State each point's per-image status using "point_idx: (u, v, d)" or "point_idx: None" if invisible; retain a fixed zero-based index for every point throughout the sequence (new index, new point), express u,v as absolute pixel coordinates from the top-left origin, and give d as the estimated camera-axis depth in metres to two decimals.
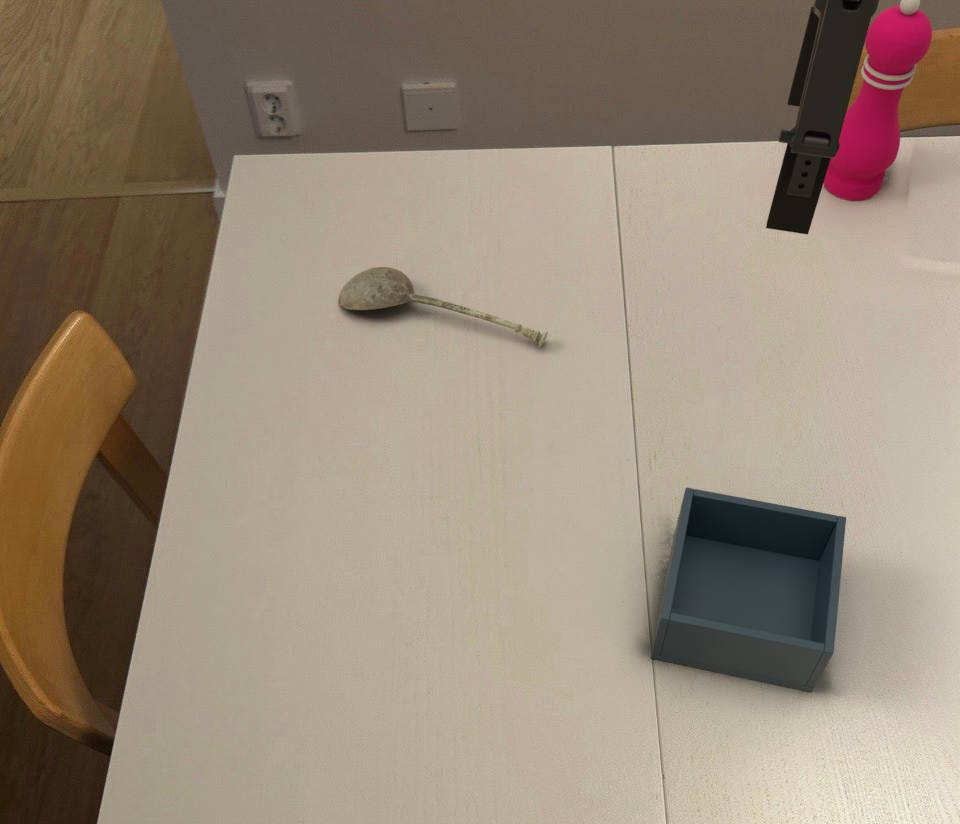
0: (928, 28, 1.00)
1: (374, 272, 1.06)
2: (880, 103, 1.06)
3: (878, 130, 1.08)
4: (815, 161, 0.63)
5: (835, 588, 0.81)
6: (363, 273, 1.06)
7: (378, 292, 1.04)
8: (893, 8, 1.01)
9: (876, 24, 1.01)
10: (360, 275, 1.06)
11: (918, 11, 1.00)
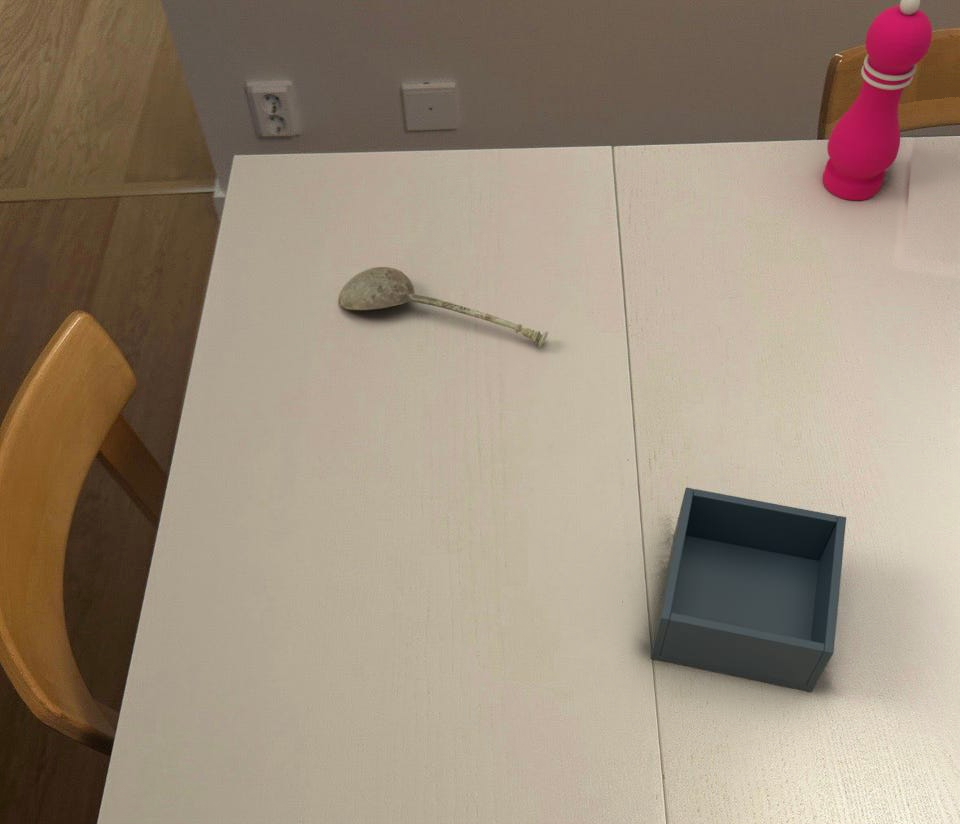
0: (928, 28, 1.00)
1: (374, 272, 1.06)
2: (880, 103, 1.06)
3: (878, 130, 1.08)
4: None
5: (835, 588, 0.81)
6: (363, 273, 1.06)
7: (378, 292, 1.04)
8: (893, 8, 1.01)
9: (876, 24, 1.01)
10: (360, 275, 1.06)
11: (918, 11, 1.00)
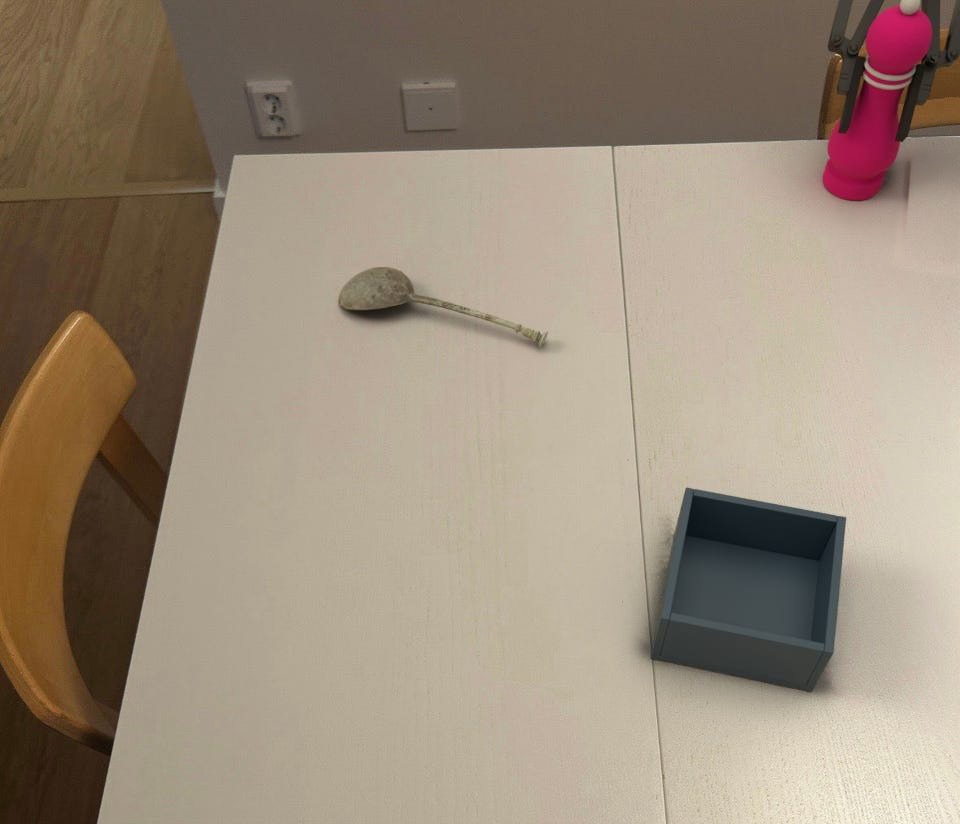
0: (928, 28, 1.00)
1: (374, 272, 1.06)
2: (880, 103, 1.06)
3: (878, 130, 1.08)
4: (843, 63, 1.05)
5: (835, 588, 0.81)
6: (363, 273, 1.06)
7: (378, 292, 1.04)
8: (893, 8, 1.01)
9: (877, 24, 1.01)
10: (360, 275, 1.06)
11: (918, 11, 1.00)
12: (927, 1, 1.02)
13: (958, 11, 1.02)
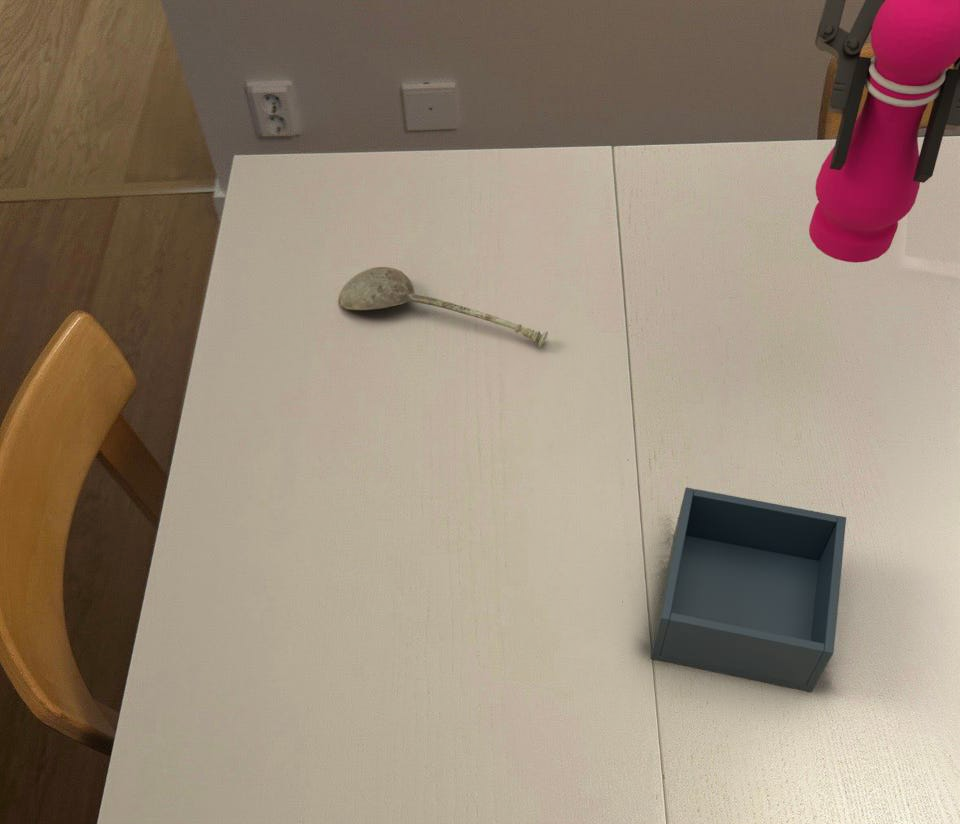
0: None
1: (374, 272, 1.06)
2: (892, 127, 0.72)
3: (889, 165, 0.73)
4: (838, 66, 0.71)
5: (835, 588, 0.81)
6: (363, 273, 1.06)
7: (378, 292, 1.04)
8: None
9: (888, 8, 0.67)
10: (360, 275, 1.06)
11: None
12: None
13: None
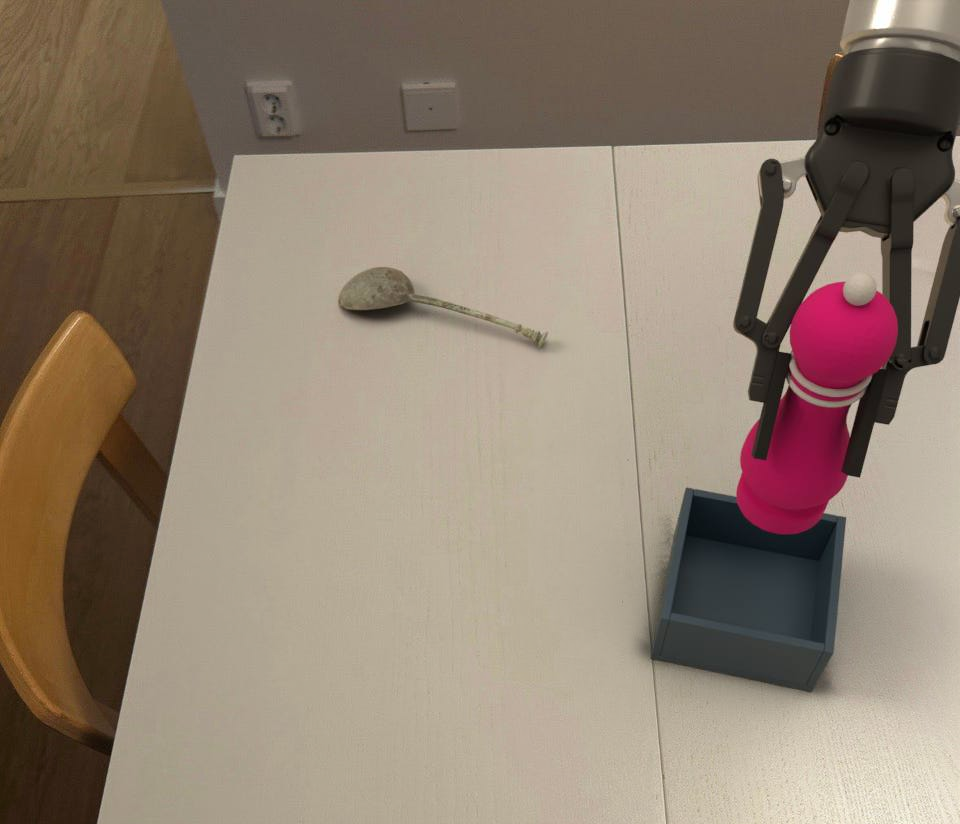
0: (891, 326, 0.60)
1: (374, 272, 1.06)
2: (816, 421, 0.66)
3: (815, 454, 0.68)
4: (756, 357, 0.65)
5: (835, 588, 0.81)
6: (363, 273, 1.06)
7: (378, 292, 1.04)
8: (833, 289, 0.60)
9: (806, 315, 0.61)
10: (360, 275, 1.06)
11: (874, 297, 0.60)
12: (890, 271, 0.62)
13: (941, 289, 0.62)
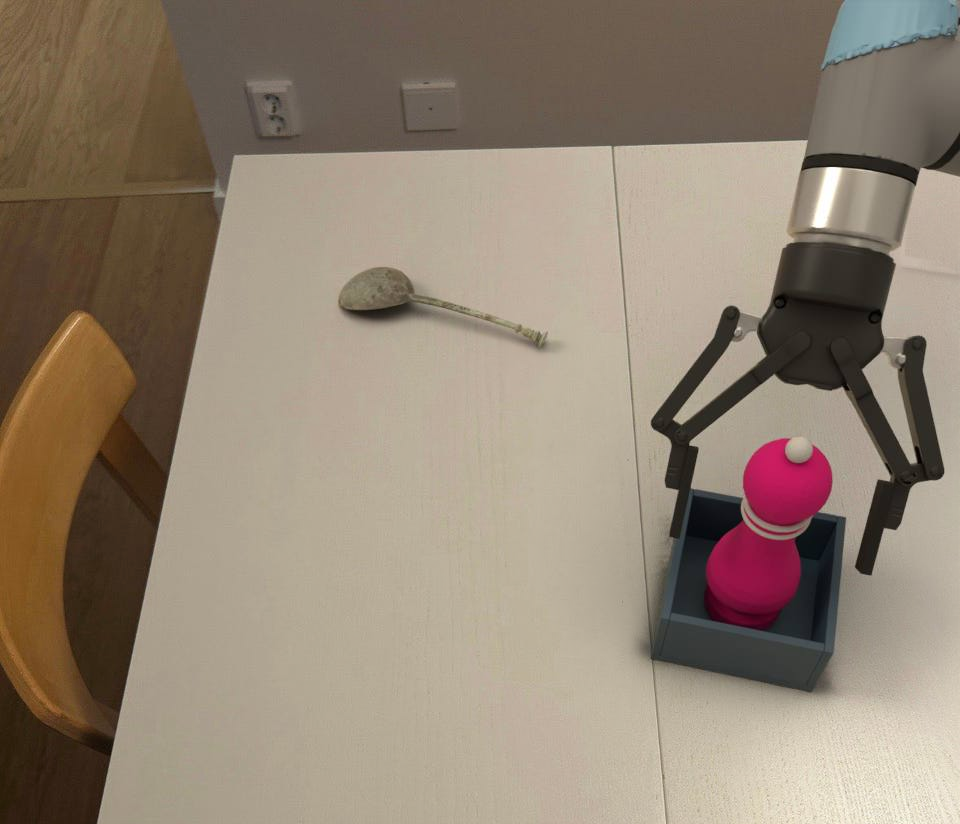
0: (825, 479, 0.72)
1: (374, 272, 1.06)
2: (767, 548, 0.77)
3: (768, 574, 0.79)
4: (670, 451, 0.76)
5: (835, 588, 0.81)
6: (363, 273, 1.06)
7: (378, 292, 1.04)
8: (778, 447, 0.72)
9: (755, 468, 0.72)
10: (360, 275, 1.06)
11: (812, 454, 0.72)
12: (864, 415, 0.73)
13: (916, 422, 0.72)
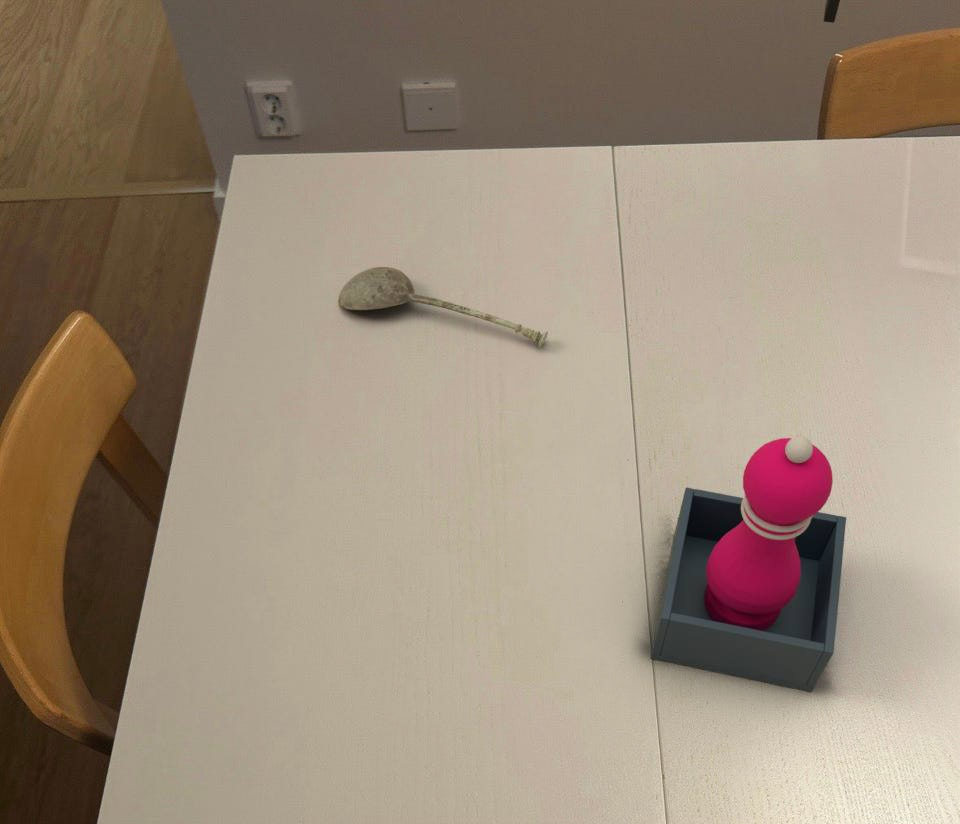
0: (825, 479, 0.72)
1: (374, 272, 1.06)
2: (767, 548, 0.77)
3: (768, 573, 0.79)
4: None
5: (835, 588, 0.81)
6: (363, 273, 1.06)
7: (378, 292, 1.04)
8: (778, 447, 0.72)
9: (755, 468, 0.72)
10: (360, 275, 1.06)
11: (812, 454, 0.72)
12: None
13: None
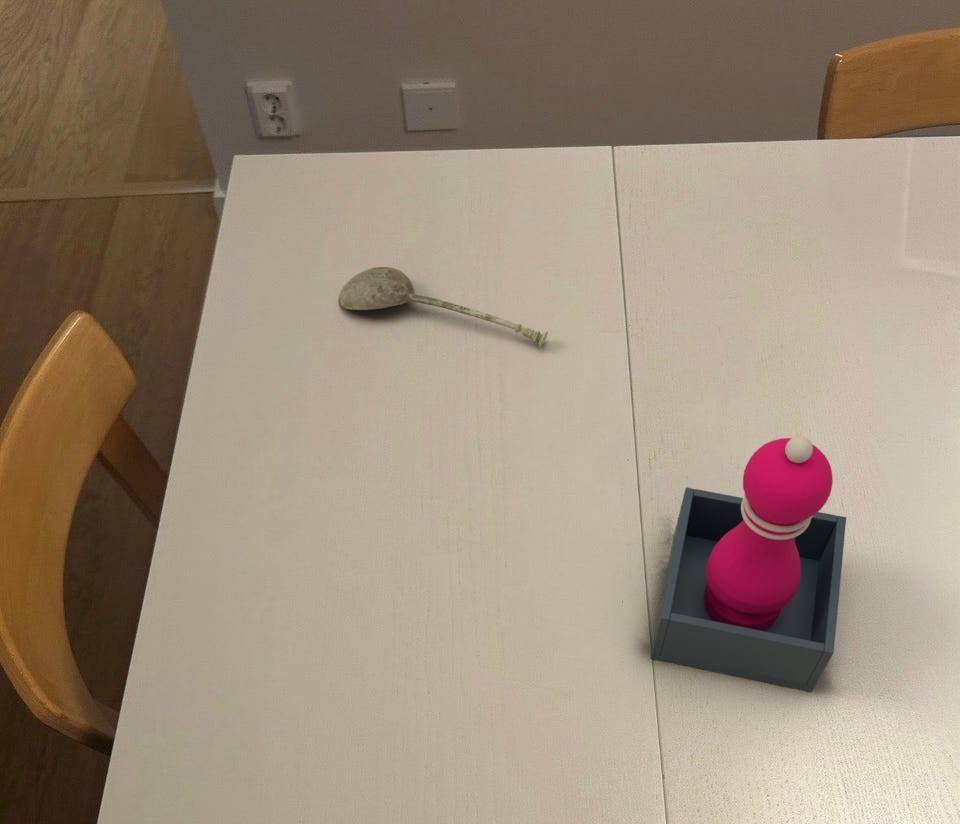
0: (825, 479, 0.72)
1: (374, 272, 1.06)
2: (767, 548, 0.77)
3: (768, 573, 0.79)
4: None
5: (835, 588, 0.81)
6: (363, 273, 1.06)
7: (378, 292, 1.04)
8: (778, 447, 0.72)
9: (755, 468, 0.72)
10: (360, 275, 1.06)
11: (812, 454, 0.72)
12: None
13: None
